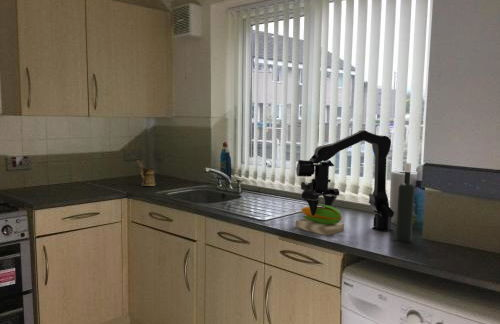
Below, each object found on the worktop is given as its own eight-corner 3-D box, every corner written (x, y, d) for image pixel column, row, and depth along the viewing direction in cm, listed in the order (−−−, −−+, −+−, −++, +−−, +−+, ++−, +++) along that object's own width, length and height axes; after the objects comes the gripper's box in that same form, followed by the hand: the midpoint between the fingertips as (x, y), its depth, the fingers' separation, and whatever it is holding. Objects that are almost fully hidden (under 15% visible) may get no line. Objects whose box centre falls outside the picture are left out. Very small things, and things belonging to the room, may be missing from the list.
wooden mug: (132, 186, 282) (133, 158, 280) (149, 184, 292) (150, 157, 291) (141, 188, 276) (141, 159, 275) (158, 186, 287) (158, 158, 285)
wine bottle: (412, 242, 167) (417, 164, 164) (396, 241, 168) (401, 163, 165) (409, 238, 172) (414, 162, 170) (394, 237, 173) (399, 162, 171)
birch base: (343, 230, 182) (344, 223, 182) (326, 235, 174) (326, 228, 174) (313, 223, 194) (313, 216, 193) (295, 227, 185) (295, 220, 185)
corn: (335, 208, 173) (296, 201, 187) (334, 227, 174) (294, 218, 188) (346, 207, 179) (306, 200, 193) (344, 226, 179) (305, 217, 193)
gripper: (319, 173, 194) (318, 208, 195) (292, 176, 181) (290, 213, 182) (340, 176, 186) (339, 212, 187) (313, 179, 173) (311, 218, 174)
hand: (320, 213), depth 183 cm, fingers open, 9 cm apart
